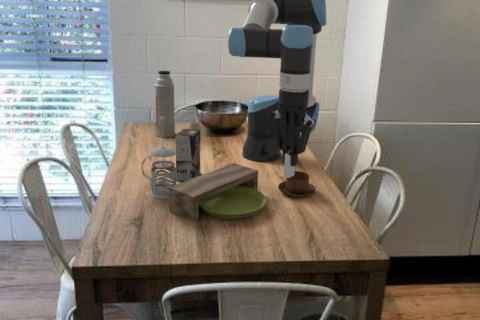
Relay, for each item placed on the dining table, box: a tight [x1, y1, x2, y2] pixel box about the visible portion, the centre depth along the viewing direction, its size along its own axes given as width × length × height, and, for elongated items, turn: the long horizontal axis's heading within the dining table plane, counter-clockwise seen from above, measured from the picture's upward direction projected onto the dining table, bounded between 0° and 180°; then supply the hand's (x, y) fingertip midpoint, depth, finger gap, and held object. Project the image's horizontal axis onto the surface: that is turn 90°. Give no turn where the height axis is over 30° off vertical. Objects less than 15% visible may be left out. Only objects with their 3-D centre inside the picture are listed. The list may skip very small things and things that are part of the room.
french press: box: [141, 117, 177, 200], centre depth 156 cm, size 10×12×25 cm
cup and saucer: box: [278, 170, 316, 198], centre depth 163 cm, size 12×12×6 cm
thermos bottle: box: [154, 70, 176, 138], centre depth 218 cm, size 8×8×28 cm
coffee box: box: [175, 128, 201, 182], centre depth 172 cm, size 9×6×16 cm
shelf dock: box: [168, 162, 259, 222], centre depth 154 cm, size 10×29×8 cm, turn 140°
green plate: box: [199, 186, 267, 220], centre depth 151 cm, size 21×21×3 cm
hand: (289, 175), depth 135 cm, fingers closed
